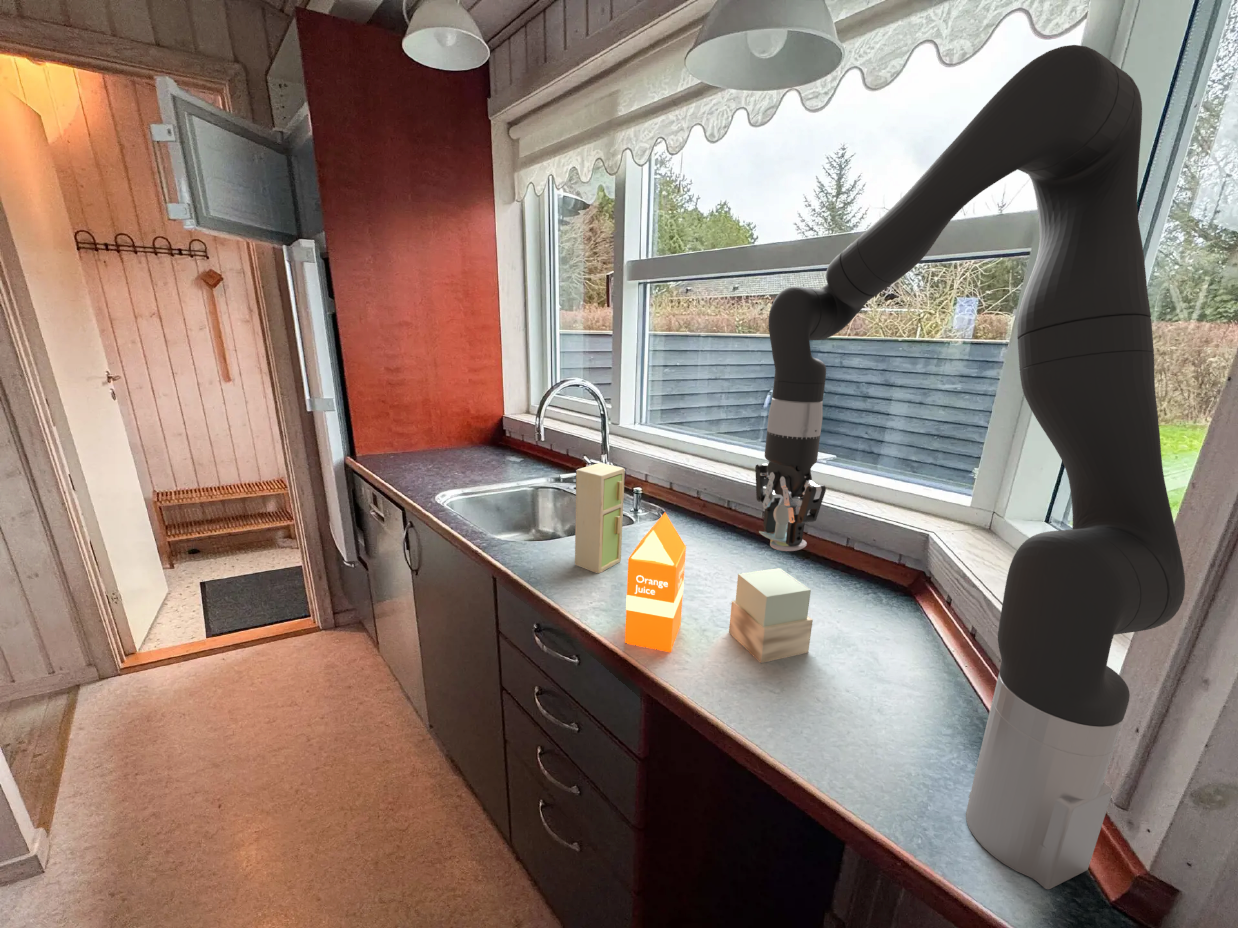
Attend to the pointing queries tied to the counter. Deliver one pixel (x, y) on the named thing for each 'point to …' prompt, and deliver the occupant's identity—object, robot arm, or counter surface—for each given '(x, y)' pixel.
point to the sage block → (772, 596)
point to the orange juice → (655, 588)
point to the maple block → (769, 635)
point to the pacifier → (781, 531)
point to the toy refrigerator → (599, 516)
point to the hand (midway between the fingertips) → (781, 537)
